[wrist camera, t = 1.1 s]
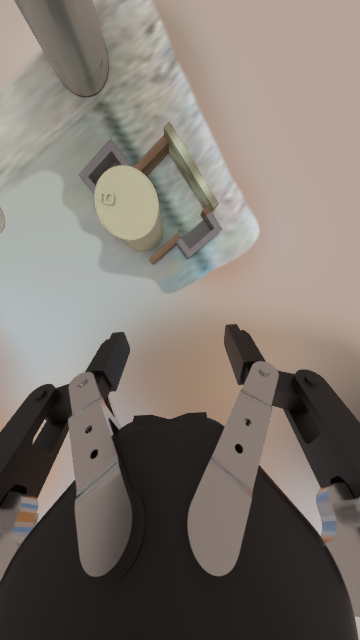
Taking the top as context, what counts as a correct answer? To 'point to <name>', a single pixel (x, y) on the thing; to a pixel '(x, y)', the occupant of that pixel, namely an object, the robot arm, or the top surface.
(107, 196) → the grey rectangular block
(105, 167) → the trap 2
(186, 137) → the top surface
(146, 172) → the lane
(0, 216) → the pill bottle
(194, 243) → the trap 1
